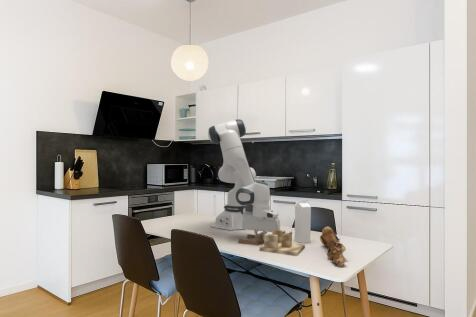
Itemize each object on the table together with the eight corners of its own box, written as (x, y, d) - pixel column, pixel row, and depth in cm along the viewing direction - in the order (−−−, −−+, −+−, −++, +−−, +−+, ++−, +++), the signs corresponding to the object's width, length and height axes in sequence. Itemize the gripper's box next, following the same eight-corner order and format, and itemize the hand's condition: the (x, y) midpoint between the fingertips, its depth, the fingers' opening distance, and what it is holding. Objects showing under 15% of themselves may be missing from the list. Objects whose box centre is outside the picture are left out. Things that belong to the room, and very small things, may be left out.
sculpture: (330, 255, 166) (334, 271, 132) (315, 232, 169) (316, 241, 135) (345, 247, 165) (353, 260, 131) (329, 223, 168) (334, 231, 134)
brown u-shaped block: (238, 242, 168) (238, 234, 168) (247, 237, 180) (248, 229, 180) (257, 245, 164) (257, 236, 164) (265, 239, 176) (265, 231, 176)
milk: (294, 240, 175) (294, 199, 176) (303, 239, 178) (303, 199, 179) (301, 243, 170) (302, 201, 170) (310, 242, 173) (311, 200, 173)
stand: (259, 250, 154) (259, 232, 154) (270, 243, 169) (270, 226, 169) (296, 255, 147) (297, 236, 147) (304, 247, 162) (305, 230, 162)
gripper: (240, 211, 172) (239, 238, 171) (277, 215, 163) (277, 242, 163) (245, 210, 177) (244, 235, 177) (281, 213, 169) (280, 240, 169)
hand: (260, 239), depth 170 cm, fingers closed on brown u-shaped block
